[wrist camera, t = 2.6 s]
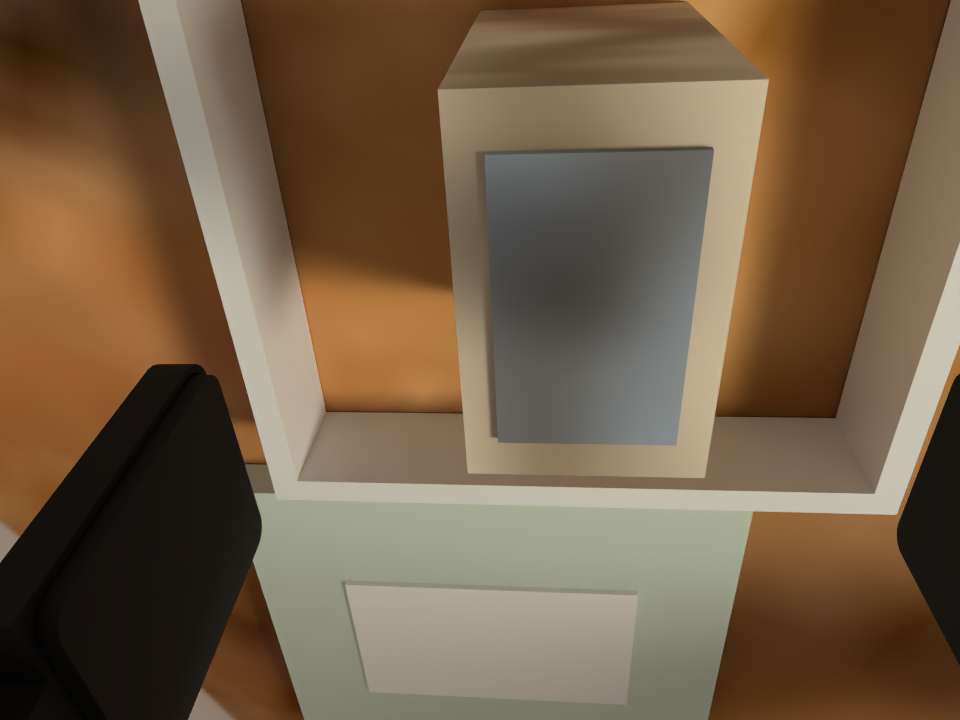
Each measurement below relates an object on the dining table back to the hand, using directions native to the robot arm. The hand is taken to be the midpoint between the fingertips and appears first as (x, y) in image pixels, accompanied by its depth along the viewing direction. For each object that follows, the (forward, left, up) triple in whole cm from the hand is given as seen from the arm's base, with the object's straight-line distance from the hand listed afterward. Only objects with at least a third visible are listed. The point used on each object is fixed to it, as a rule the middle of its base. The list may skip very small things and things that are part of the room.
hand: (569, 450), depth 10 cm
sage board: (+3, +19, -12) cm, 23 cm away
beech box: (0, 0, -12) cm, 12 cm away
